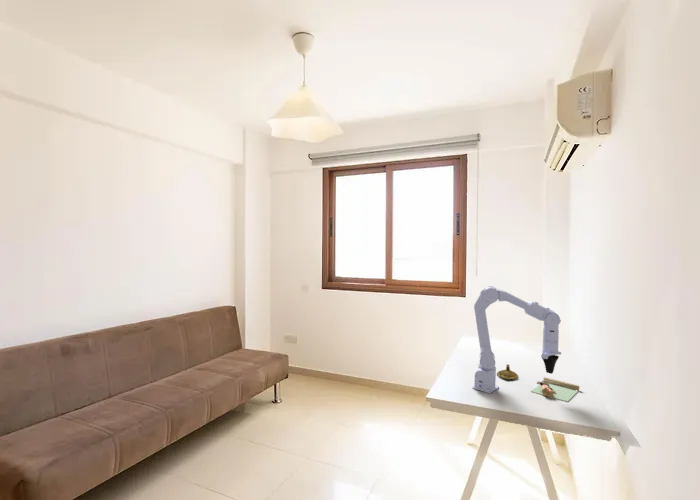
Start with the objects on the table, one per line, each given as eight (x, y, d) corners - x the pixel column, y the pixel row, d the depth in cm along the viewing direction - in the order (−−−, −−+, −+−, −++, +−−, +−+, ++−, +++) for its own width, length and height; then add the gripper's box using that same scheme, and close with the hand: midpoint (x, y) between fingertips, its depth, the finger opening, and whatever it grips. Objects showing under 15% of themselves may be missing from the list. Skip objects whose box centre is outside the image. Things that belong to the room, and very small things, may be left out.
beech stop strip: (578, 391, 159) (578, 386, 159) (543, 382, 169) (543, 378, 169) (579, 390, 160) (579, 385, 160) (544, 381, 170) (544, 377, 170)
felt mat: (567, 402, 147) (567, 401, 147) (530, 391, 157) (530, 391, 157) (578, 391, 159) (578, 390, 159) (543, 382, 169) (543, 382, 169)
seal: (518, 385, 168) (517, 375, 182) (519, 375, 168) (518, 365, 182) (496, 380, 171) (496, 370, 185) (498, 370, 171) (498, 361, 185)
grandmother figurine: (551, 402, 151) (549, 392, 162) (558, 395, 150) (555, 386, 162) (535, 388, 154) (533, 380, 165) (541, 382, 153) (539, 374, 164)
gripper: (555, 345, 144) (554, 379, 145) (566, 339, 155) (565, 371, 155) (536, 341, 149) (535, 374, 150) (548, 336, 160) (547, 367, 160)
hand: (549, 372), depth 153 cm, fingers closed
